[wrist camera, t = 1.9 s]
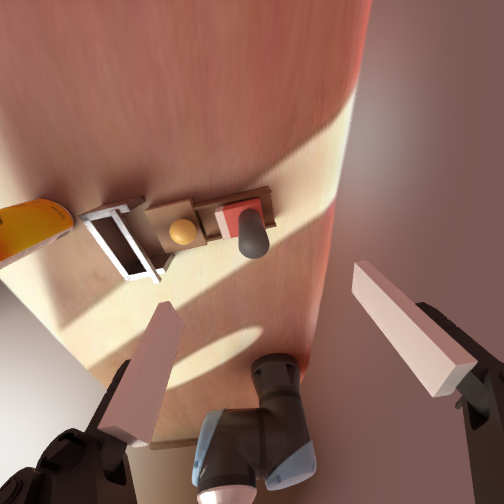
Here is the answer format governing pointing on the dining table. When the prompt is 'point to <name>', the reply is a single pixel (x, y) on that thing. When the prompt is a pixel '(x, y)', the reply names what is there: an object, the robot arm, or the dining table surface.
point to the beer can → (31, 228)
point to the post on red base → (244, 226)
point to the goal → (124, 241)
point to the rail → (209, 206)
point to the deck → (169, 213)
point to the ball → (182, 231)
